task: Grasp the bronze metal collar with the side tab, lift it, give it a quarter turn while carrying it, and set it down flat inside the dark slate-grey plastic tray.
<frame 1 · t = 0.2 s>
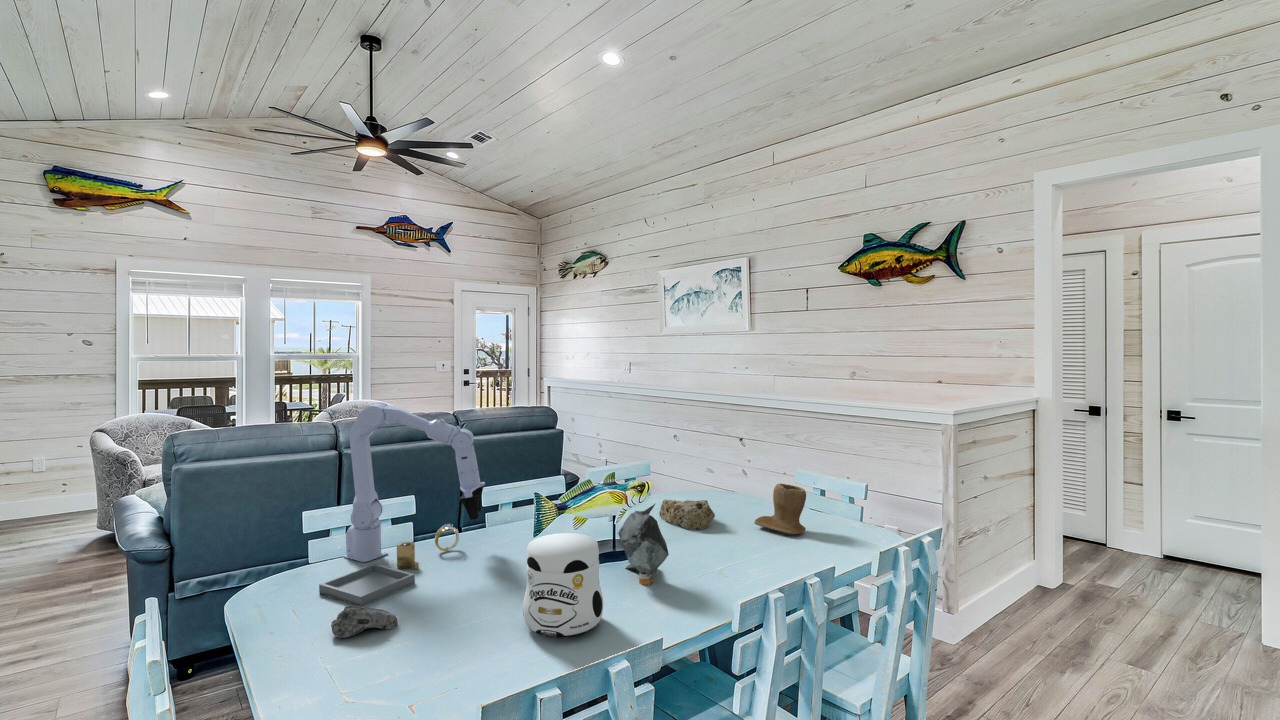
hand: (475, 515, 179), 11 cm above the table, tool pointing down, fingers open, 7 cm apart
tray: (368, 588, 152), on the table
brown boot: (783, 530, 197), on the table
grey faceted chunk: (643, 579, 157), on the table
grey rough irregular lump: (362, 631, 130), on the table
ring: (447, 551, 179), on the table
rock: (688, 522, 207), on the table
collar: (406, 566, 167), on the table
doce de leite jar: (563, 626, 131), on the table
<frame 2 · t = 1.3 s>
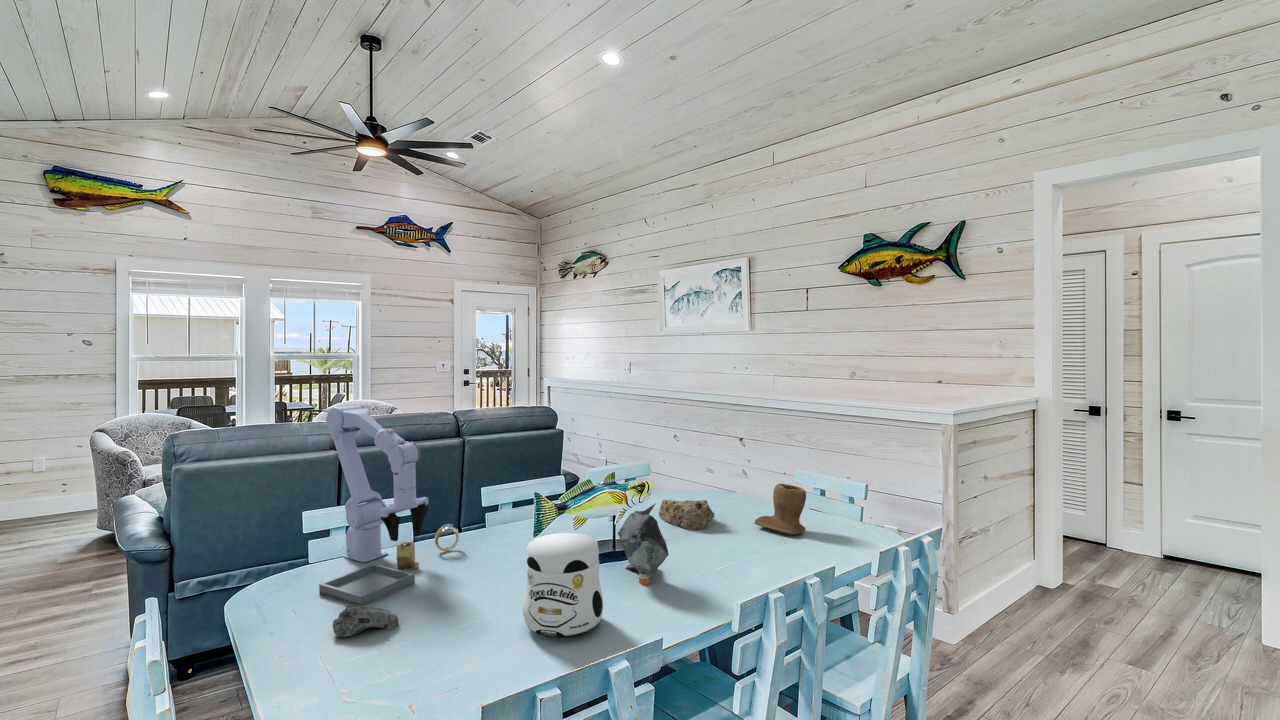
hand: (405, 536, 166), 8 cm above the table, tool pointing down, fingers open, 7 cm apart
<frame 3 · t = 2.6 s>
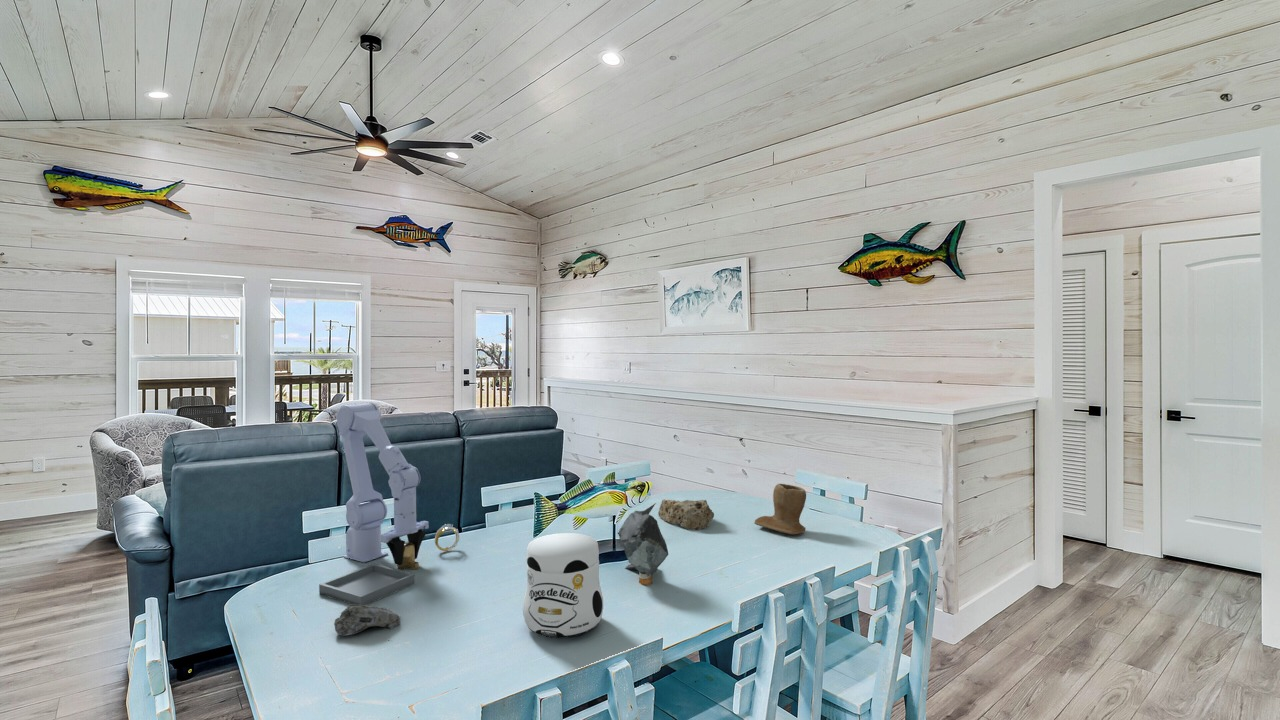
hand: (406, 561, 167), 1 cm above the table, tool pointing down, fingers closed on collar, 5 cm apart
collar: (406, 566, 167), on the table, touching gripper
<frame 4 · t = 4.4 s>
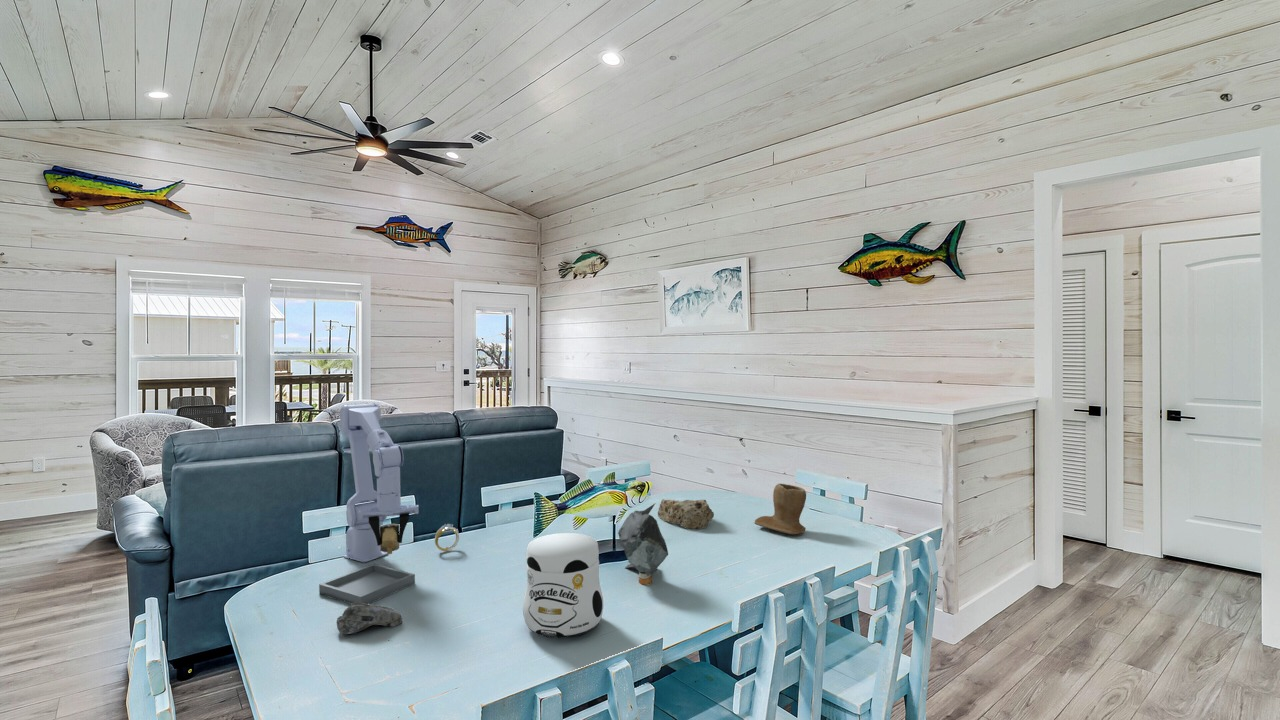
hand: (389, 543, 160), 9 cm above the table, tool pointing down, fingers closed on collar, 5 cm apart
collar: (389, 548, 160), point 7 cm above the table, touching gripper
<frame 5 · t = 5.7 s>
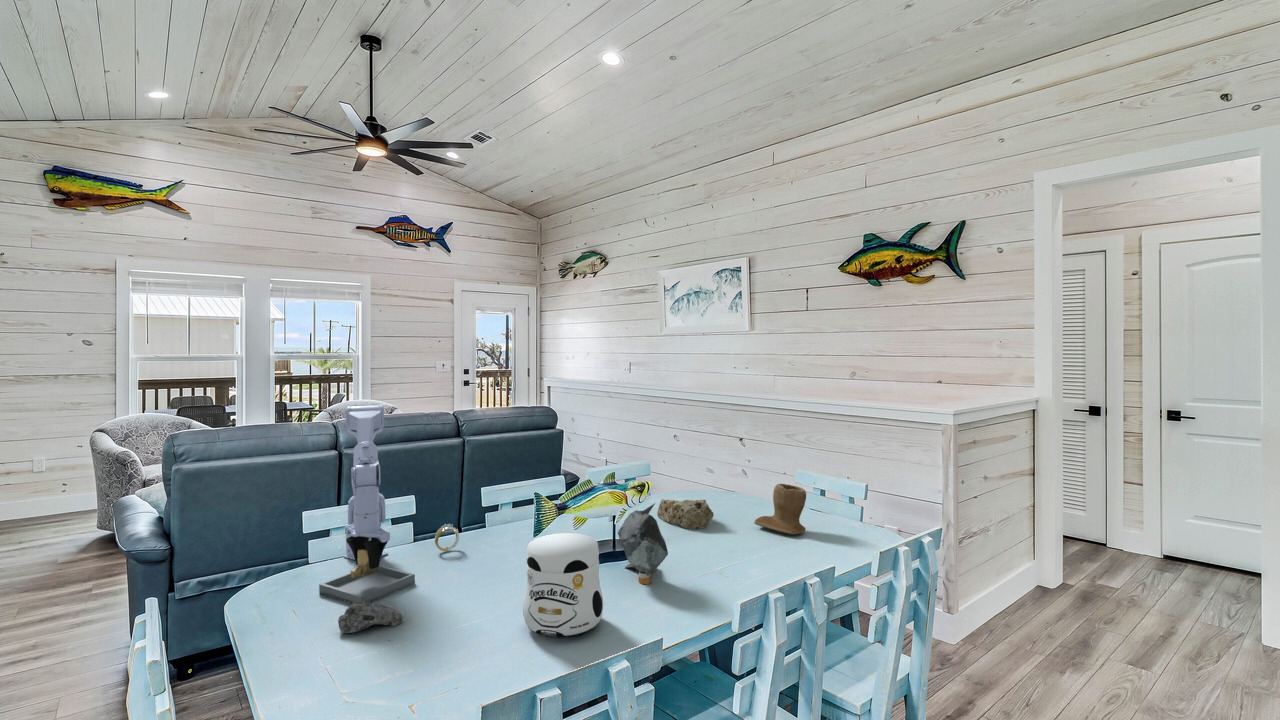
hand: (367, 565, 151), 6 cm above the table, tool pointing down, fingers closed on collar, 5 cm apart
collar: (367, 571, 151), point 4 cm above the table, touching gripper
when the fingers open (3 cm above the table, at t = 6.6 s): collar stays where it is, point 1 cm above the table.
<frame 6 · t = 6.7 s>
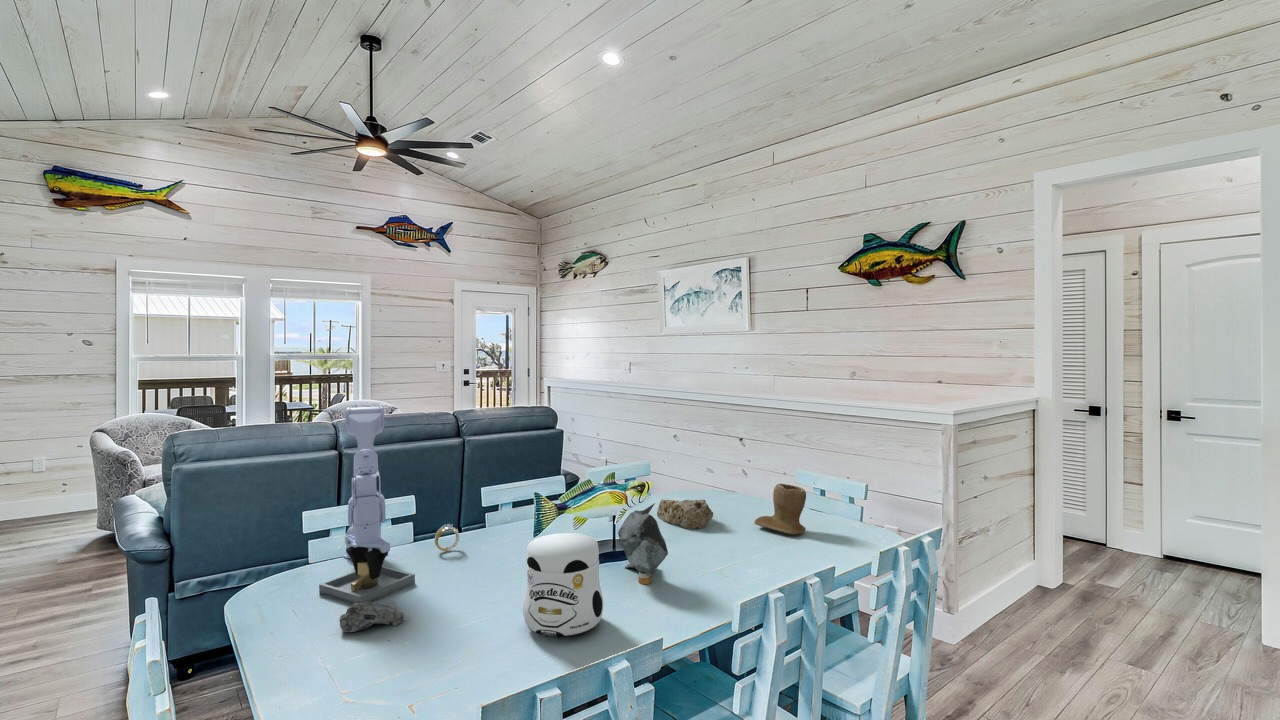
hand: (367, 575, 152), 3 cm above the table, tool pointing down, fingers open, 5 cm apart
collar: (368, 584, 152), point 1 cm above the table
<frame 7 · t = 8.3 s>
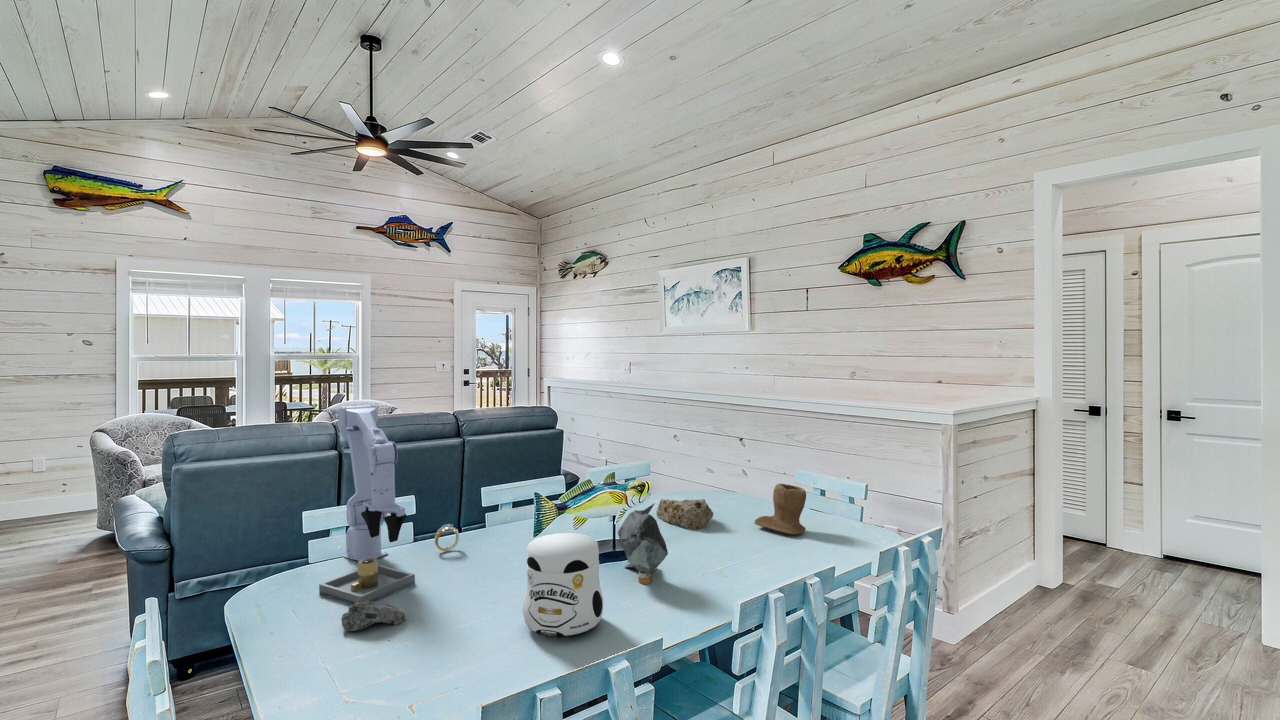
hand: (384, 538, 161), 9 cm above the table, tool pointing down, fingers open, 7 cm apart
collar: (368, 585, 152), point 1 cm above the table, touching tray
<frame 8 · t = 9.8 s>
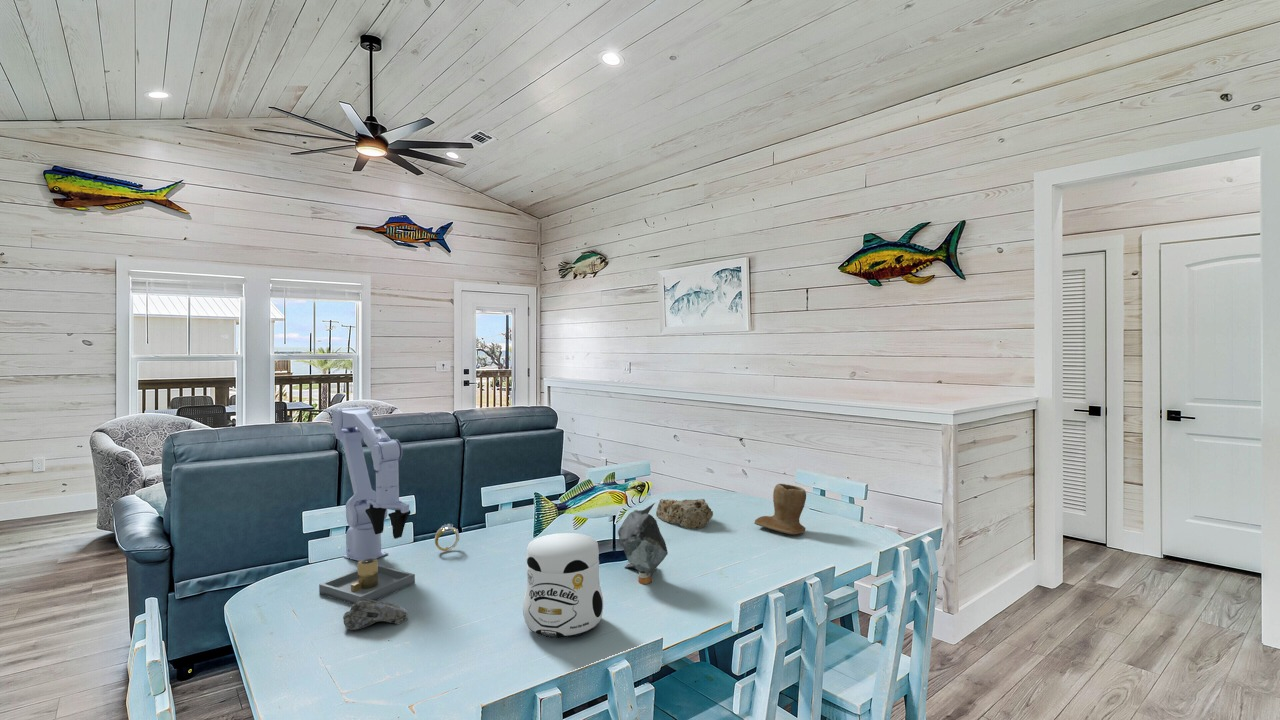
hand: (388, 535, 164), 9 cm above the table, tool pointing down, fingers open, 7 cm apart
at the end: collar inside the target area on the tray (0.0 cm from its centre), point 0.8 cm above the tray's base; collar tilted 0°; the gripper is holding nothing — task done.
